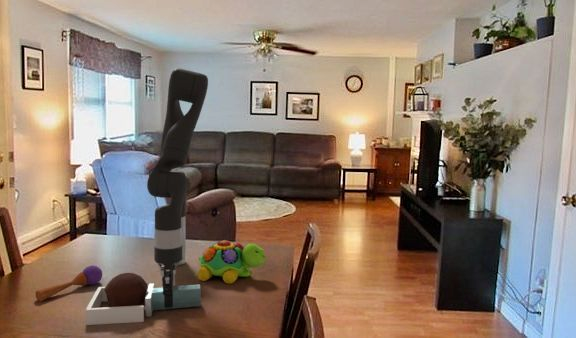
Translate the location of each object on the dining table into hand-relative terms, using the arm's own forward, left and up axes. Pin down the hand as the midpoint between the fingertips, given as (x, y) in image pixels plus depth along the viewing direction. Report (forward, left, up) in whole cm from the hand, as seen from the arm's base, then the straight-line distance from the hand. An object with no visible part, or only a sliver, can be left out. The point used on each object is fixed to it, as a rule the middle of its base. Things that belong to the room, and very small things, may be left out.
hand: (169, 303), depth 131 cm
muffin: (-8, -8, -1) cm, 11 cm away
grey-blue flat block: (0, 0, -1) cm, 1 cm away
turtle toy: (-4, +30, -1) cm, 31 cm away
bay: (-9, -9, -1) cm, 13 cm away
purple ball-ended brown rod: (-33, -9, -2) cm, 34 cm away
